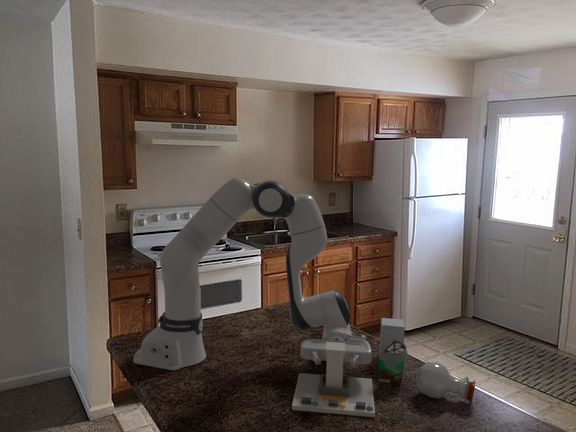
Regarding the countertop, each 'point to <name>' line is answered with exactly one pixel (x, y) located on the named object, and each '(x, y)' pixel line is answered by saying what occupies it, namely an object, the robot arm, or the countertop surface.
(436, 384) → the potion bottle
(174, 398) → the countertop surface
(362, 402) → the board
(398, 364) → the food container
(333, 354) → the plug
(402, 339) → the supplement box
